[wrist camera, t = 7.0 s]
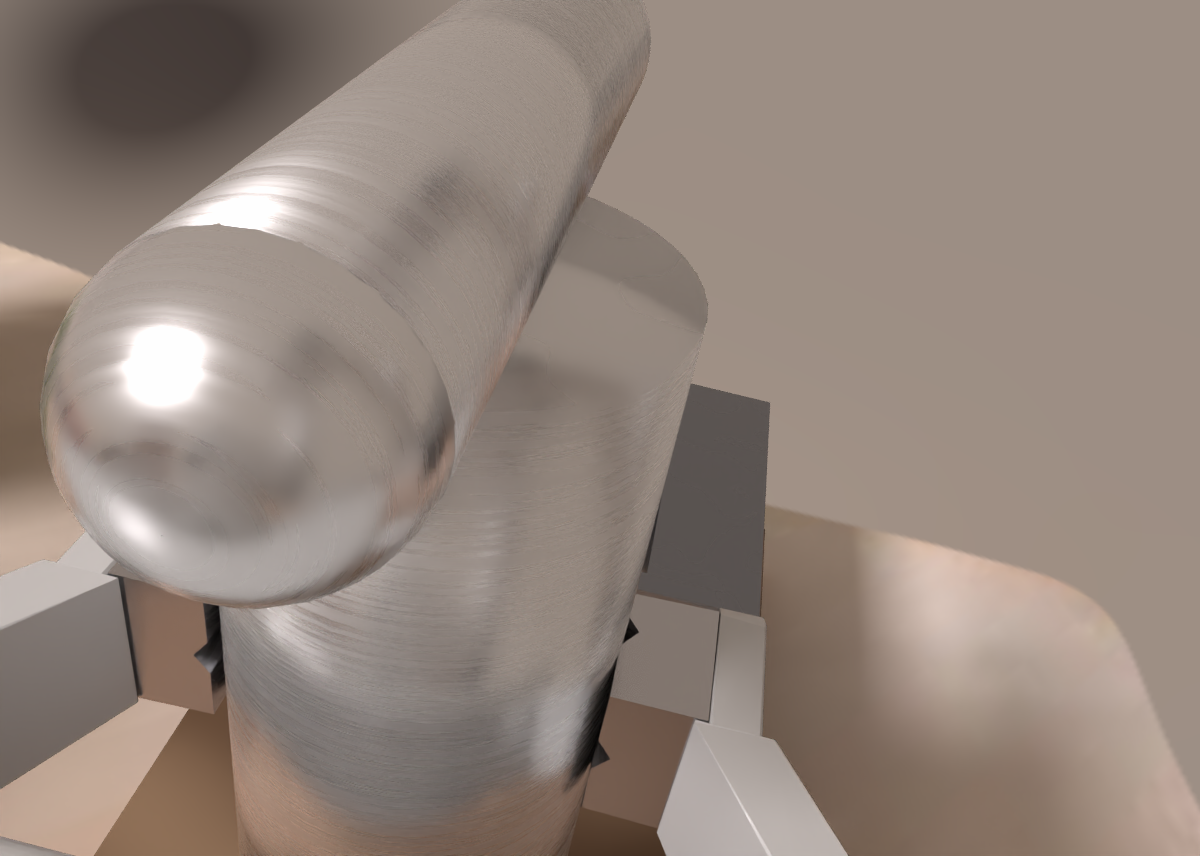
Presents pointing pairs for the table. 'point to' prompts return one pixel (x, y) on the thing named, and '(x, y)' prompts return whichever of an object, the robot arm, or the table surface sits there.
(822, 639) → the table surface
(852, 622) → the table surface
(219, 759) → the beige thin flat slab
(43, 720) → the robot arm
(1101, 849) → the table surface
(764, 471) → the square socket block
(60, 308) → the table surface
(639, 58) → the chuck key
